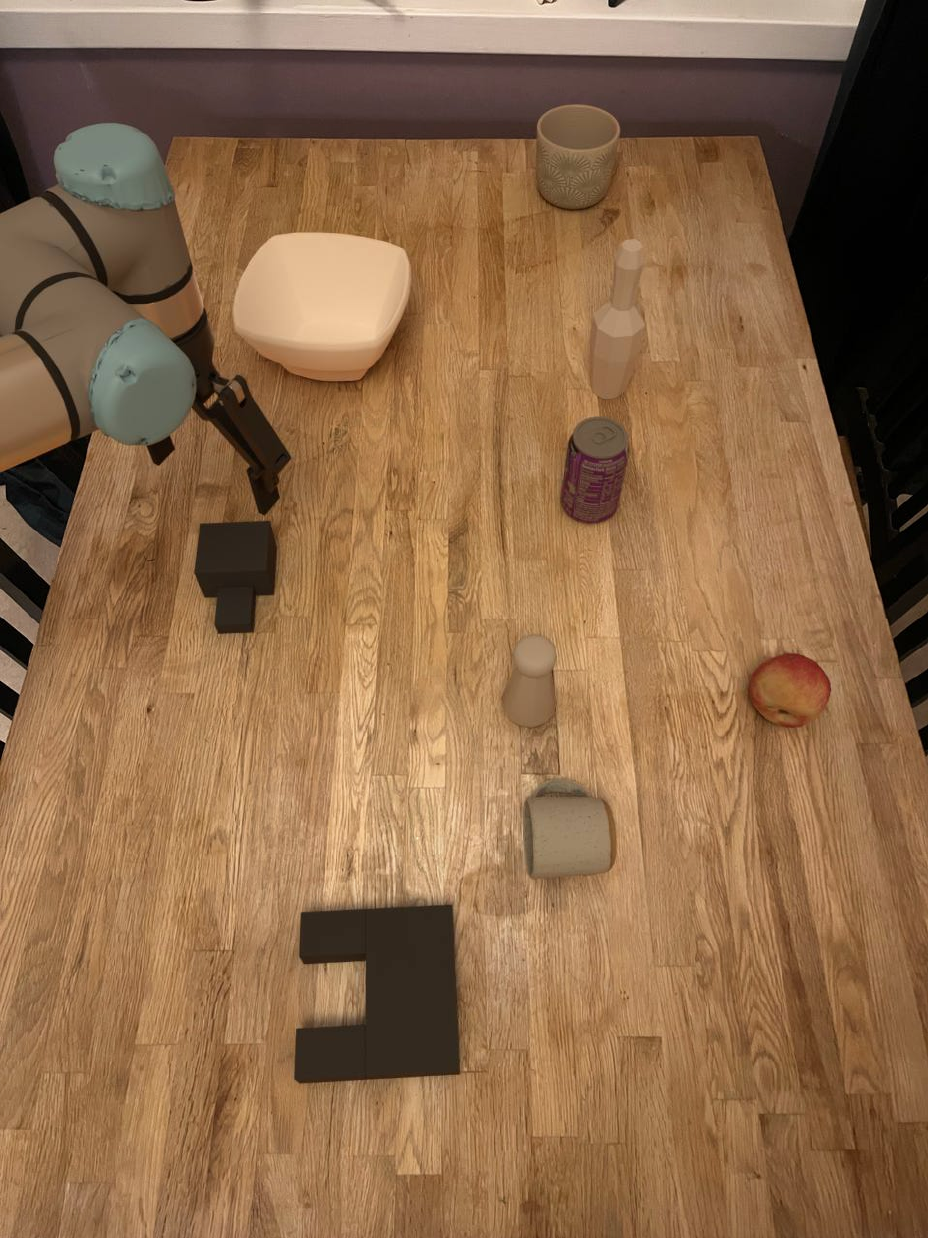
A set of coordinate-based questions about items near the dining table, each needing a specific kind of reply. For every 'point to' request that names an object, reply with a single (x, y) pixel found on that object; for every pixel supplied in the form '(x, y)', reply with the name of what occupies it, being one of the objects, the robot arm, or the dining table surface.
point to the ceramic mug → (567, 832)
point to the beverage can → (594, 469)
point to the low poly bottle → (618, 326)
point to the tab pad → (236, 570)
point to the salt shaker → (531, 682)
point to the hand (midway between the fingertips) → (216, 480)
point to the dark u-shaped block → (385, 995)
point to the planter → (575, 155)
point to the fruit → (790, 690)
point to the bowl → (322, 302)
